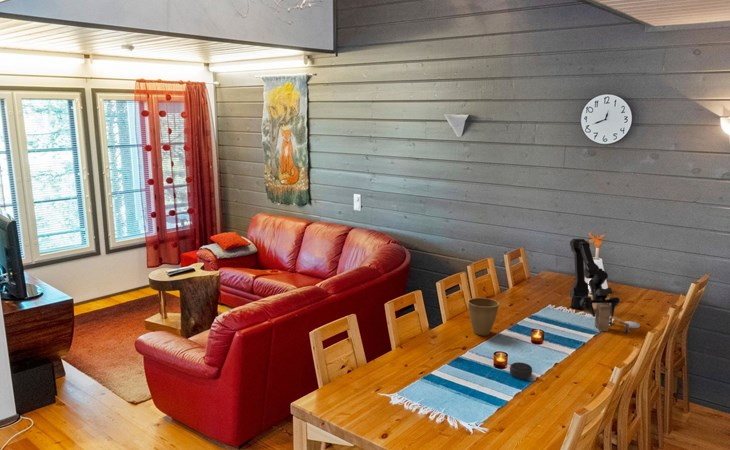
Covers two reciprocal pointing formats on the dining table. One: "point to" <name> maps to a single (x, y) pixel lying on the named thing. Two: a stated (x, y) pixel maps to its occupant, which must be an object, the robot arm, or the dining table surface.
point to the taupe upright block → (602, 316)
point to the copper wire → (620, 323)
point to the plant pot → (482, 314)
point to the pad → (632, 324)
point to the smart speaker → (521, 370)
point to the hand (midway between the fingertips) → (603, 316)
